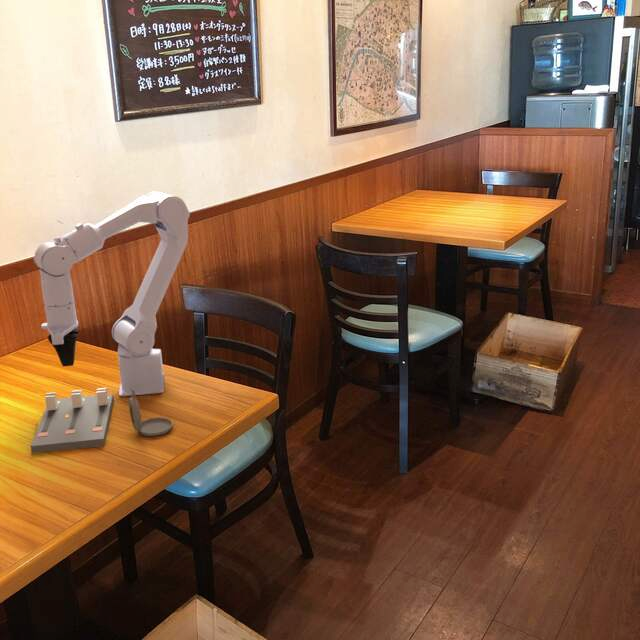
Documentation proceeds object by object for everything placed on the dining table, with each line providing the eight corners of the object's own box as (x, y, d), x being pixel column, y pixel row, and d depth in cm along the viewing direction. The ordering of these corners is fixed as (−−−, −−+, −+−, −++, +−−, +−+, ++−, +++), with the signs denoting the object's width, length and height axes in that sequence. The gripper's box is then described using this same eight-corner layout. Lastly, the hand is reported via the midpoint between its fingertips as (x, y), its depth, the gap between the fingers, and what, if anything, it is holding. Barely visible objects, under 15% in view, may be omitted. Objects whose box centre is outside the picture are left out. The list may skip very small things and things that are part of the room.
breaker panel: (113, 400, 148) (112, 393, 148) (104, 445, 130) (103, 438, 129) (50, 405, 146) (49, 399, 145) (31, 453, 127) (30, 445, 127)
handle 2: (108, 400, 144) (106, 386, 143) (107, 404, 142) (105, 390, 141) (99, 401, 143) (97, 387, 142) (98, 405, 142) (96, 391, 141)
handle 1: (57, 405, 142) (55, 391, 141) (56, 409, 140) (54, 395, 139) (48, 406, 142) (46, 392, 141) (47, 410, 140) (44, 396, 139)
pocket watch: (179, 426, 137) (175, 380, 133) (149, 445, 130) (144, 397, 126) (149, 417, 140) (144, 372, 137) (118, 434, 134) (112, 388, 130)
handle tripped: (83, 402, 143) (81, 388, 142) (81, 407, 141) (79, 393, 140) (74, 403, 143) (72, 389, 142) (72, 408, 141) (70, 393, 140)
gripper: (44, 293, 144) (53, 353, 149) (31, 315, 131) (41, 380, 135) (79, 291, 145) (87, 350, 150) (69, 312, 132) (79, 377, 137)
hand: (68, 364), depth 143 cm, fingers closed
